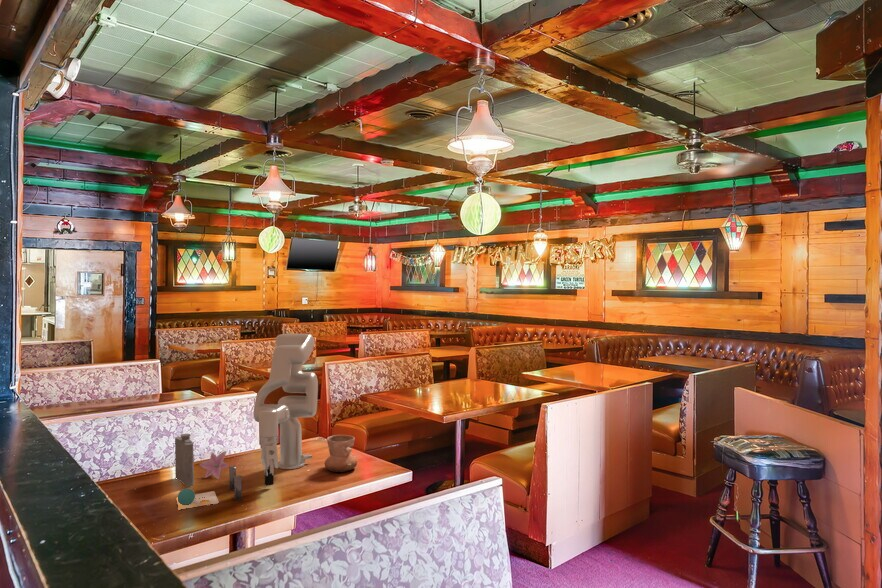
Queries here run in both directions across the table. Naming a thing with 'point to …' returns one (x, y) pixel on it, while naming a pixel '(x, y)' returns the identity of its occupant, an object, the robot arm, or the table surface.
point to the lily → (215, 465)
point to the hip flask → (184, 460)
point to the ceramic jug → (340, 453)
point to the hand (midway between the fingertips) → (269, 484)
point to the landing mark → (206, 498)
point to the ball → (186, 496)
